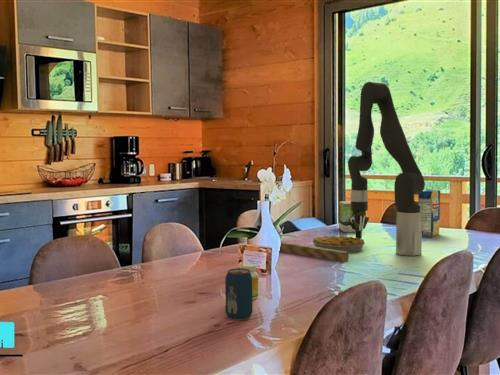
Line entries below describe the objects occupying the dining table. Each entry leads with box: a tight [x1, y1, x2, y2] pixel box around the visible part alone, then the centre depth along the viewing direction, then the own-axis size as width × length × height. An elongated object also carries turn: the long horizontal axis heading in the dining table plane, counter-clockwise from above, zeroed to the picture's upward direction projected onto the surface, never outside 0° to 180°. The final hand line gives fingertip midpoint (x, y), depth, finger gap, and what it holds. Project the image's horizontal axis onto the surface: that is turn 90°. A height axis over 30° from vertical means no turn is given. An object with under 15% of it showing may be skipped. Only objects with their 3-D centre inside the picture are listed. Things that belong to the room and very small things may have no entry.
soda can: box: [224, 267, 253, 321], centre depth 146 cm, size 7×7×12 cm
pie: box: [312, 235, 366, 254], centre depth 244 cm, size 22×22×5 cm
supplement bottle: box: [241, 263, 259, 301], centre depth 165 cm, size 5×5×10 cm
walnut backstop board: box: [279, 241, 349, 263], centre depth 230 cm, size 36×3×4 cm, turn 46°
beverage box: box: [417, 189, 441, 238], centre depth 283 cm, size 7×11×22 cm, turn 141°
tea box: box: [338, 200, 356, 233], centre depth 299 cm, size 15×10×15 cm
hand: (358, 238), depth 255 cm, fingers closed
